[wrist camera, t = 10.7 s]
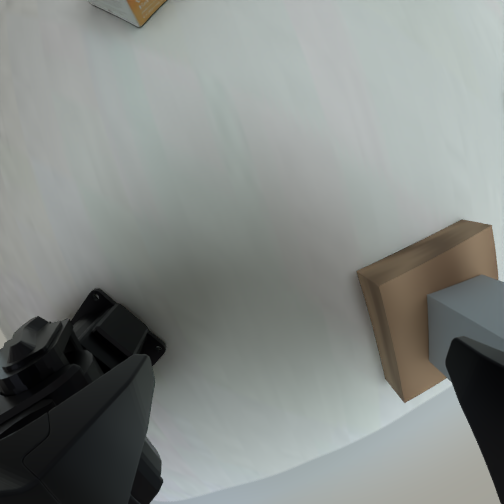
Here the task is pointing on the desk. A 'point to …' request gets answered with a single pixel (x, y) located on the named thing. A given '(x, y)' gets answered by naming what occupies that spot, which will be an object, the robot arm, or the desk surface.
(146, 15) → the small box
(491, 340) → the slate block
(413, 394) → the walnut base block
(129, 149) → the desk surface
